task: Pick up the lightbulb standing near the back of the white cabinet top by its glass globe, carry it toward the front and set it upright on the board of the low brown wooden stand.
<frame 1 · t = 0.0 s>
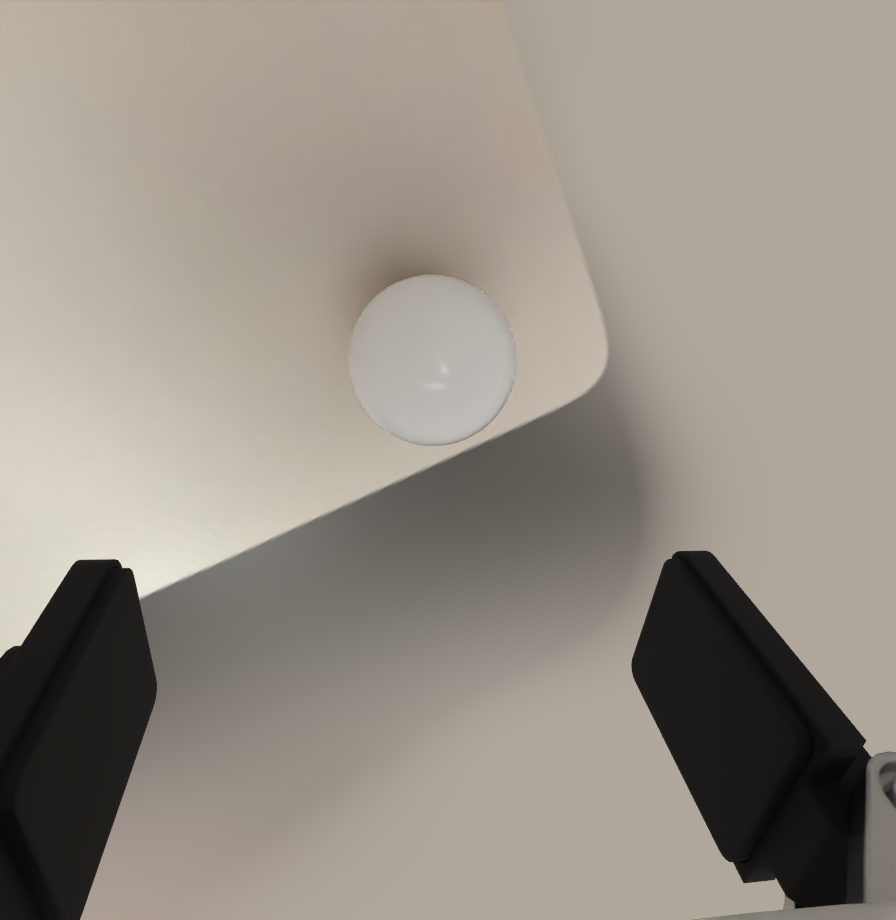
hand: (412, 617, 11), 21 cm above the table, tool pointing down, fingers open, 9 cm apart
lightbulb: (414, 305, 30), on the table
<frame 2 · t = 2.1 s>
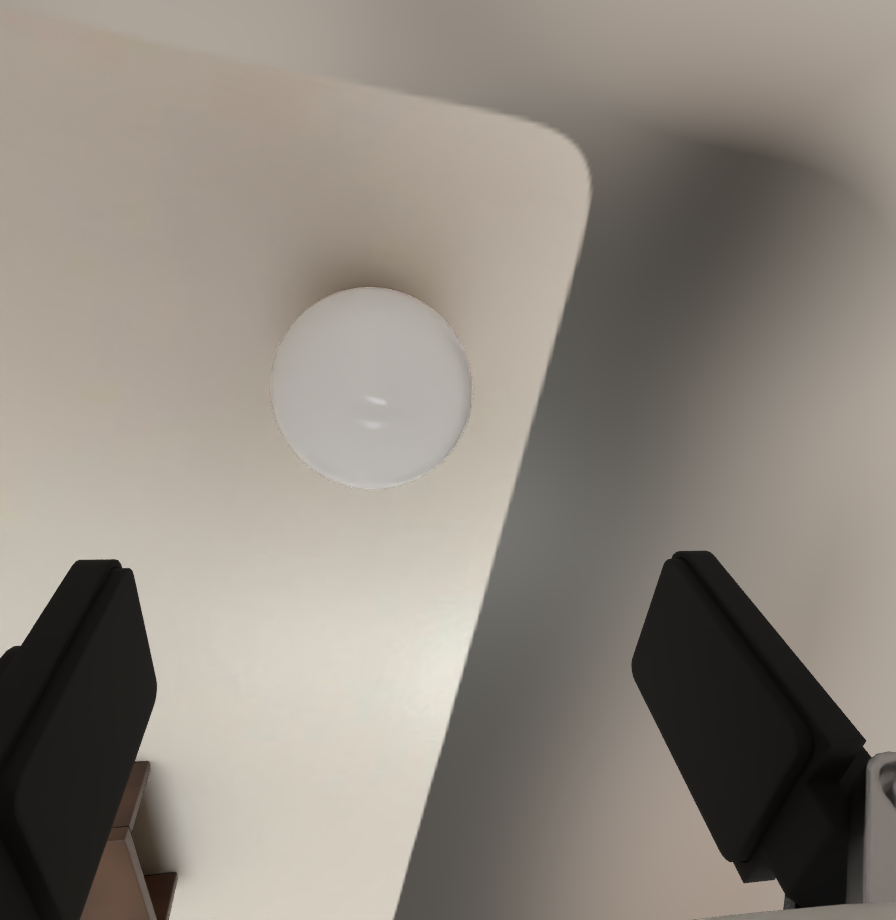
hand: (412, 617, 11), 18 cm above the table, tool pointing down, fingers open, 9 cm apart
brown wooden stand: (85, 831, 40), on the table
lightbulb: (365, 317, 26), on the table
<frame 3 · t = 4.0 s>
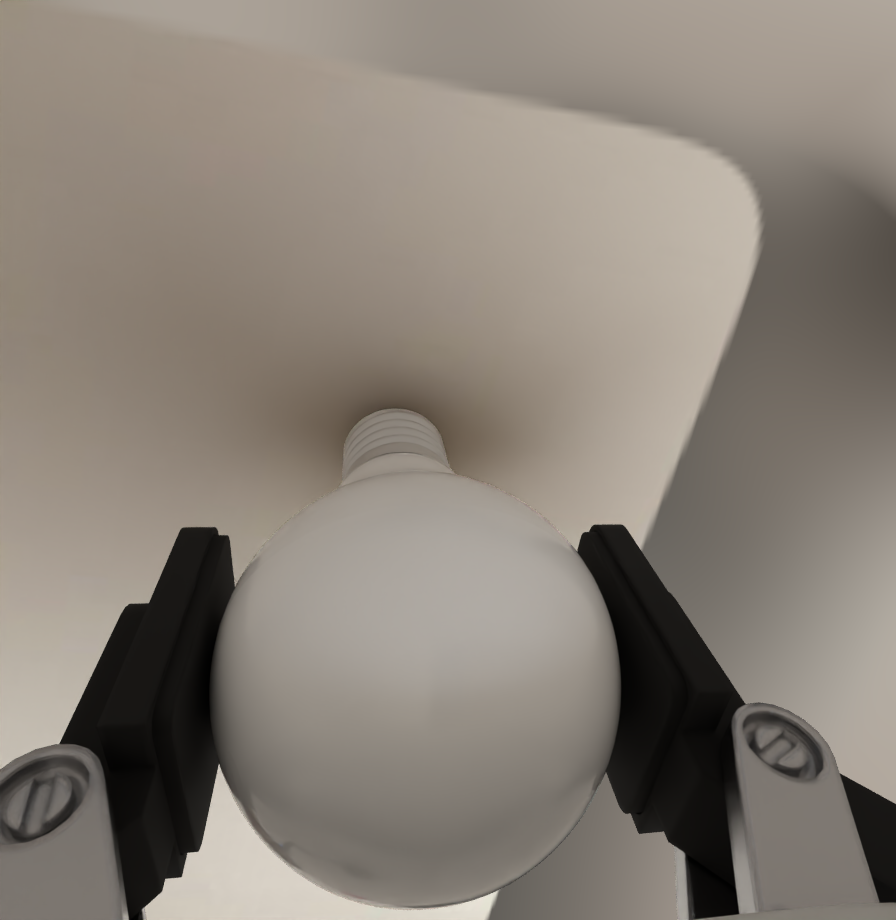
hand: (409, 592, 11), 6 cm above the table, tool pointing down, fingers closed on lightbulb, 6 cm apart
lightbulb: (392, 439, 17), on the table, touching gripper
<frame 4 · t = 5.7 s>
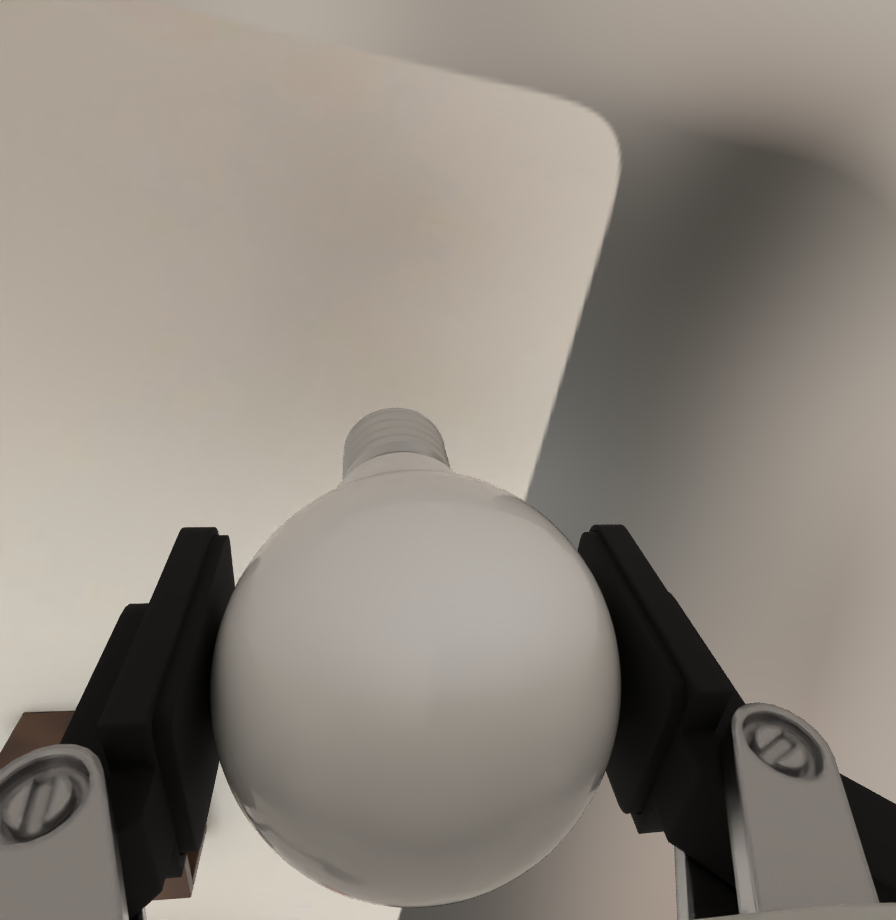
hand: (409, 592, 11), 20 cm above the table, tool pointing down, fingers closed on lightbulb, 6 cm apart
brown wooden stand: (123, 776, 42), on the table
lightbulb: (392, 438, 17), point 14 cm above the table, touching gripper
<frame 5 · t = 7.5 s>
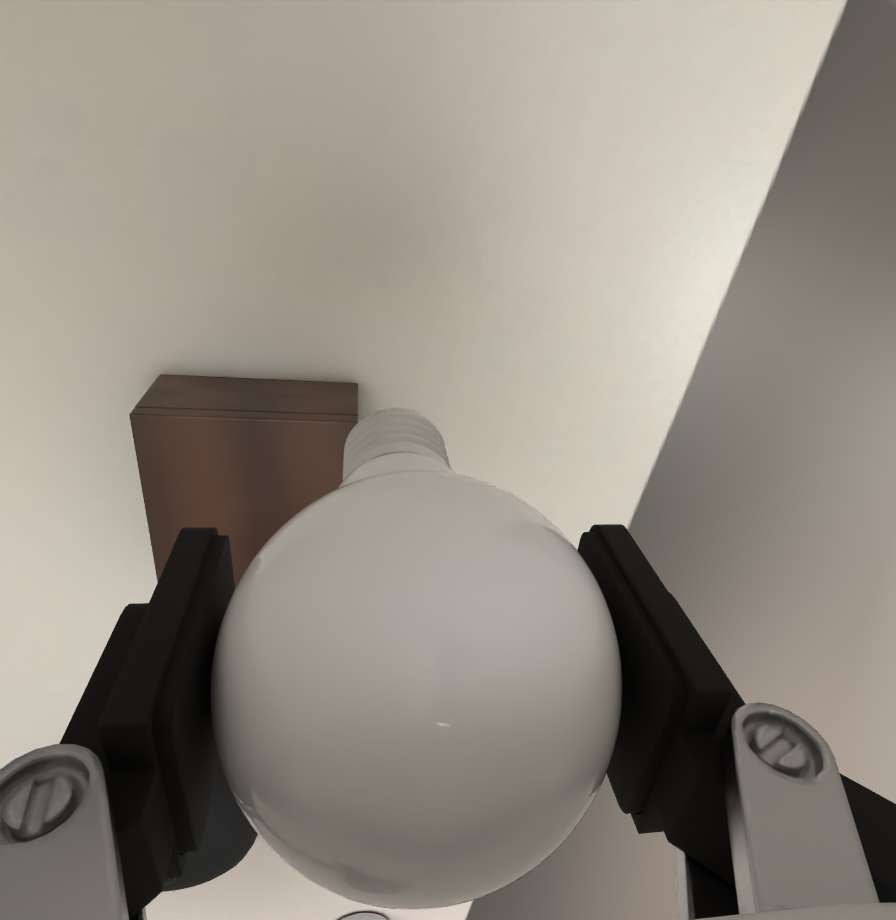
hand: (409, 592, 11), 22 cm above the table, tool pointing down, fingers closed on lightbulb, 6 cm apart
desk lamp: (178, 798, 47), on the table
brown wooden stand: (267, 492, 35), on the table
lightbulb: (392, 438, 17), point 15 cm above the table, touching gripper
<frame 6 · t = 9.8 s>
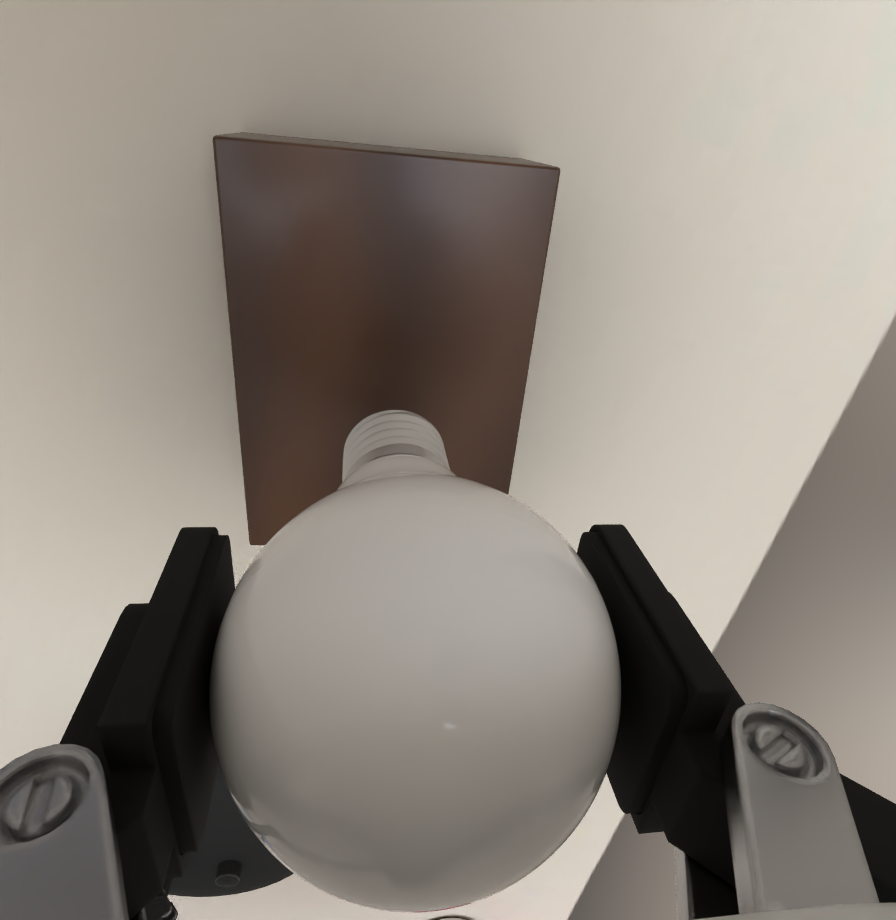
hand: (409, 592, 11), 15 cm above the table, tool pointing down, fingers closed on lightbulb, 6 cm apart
desk lamp: (237, 778, 37), on the table
brown wooden stand: (380, 337, 25), on the table
lightbulb: (392, 440, 17), point 9 cm above the table, touching gripper
when the fingers open (11 cm above the table, at t = 11.4 s): lightbulb stays where it is, resting on brown wooden stand.
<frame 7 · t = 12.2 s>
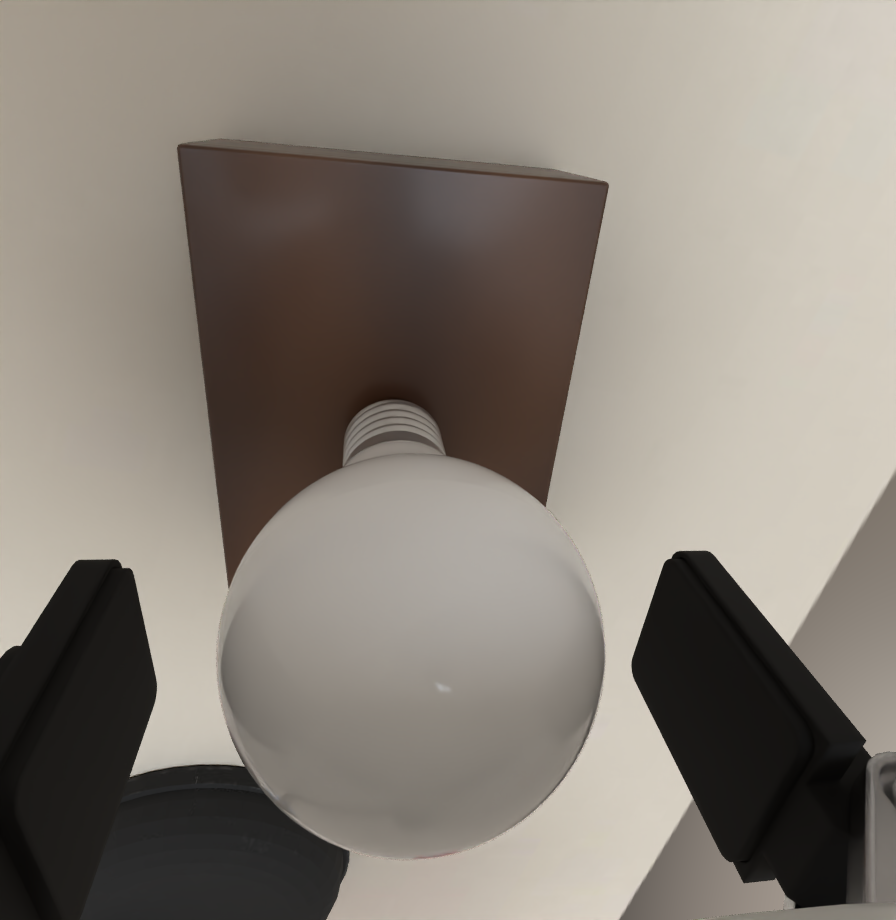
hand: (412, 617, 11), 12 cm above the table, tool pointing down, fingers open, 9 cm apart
desk lamp: (226, 847, 34), on the table
brown wooden stand: (385, 374, 21), on the table
lightbulb: (391, 430, 17), point 5 cm above the table, touching brown wooden stand
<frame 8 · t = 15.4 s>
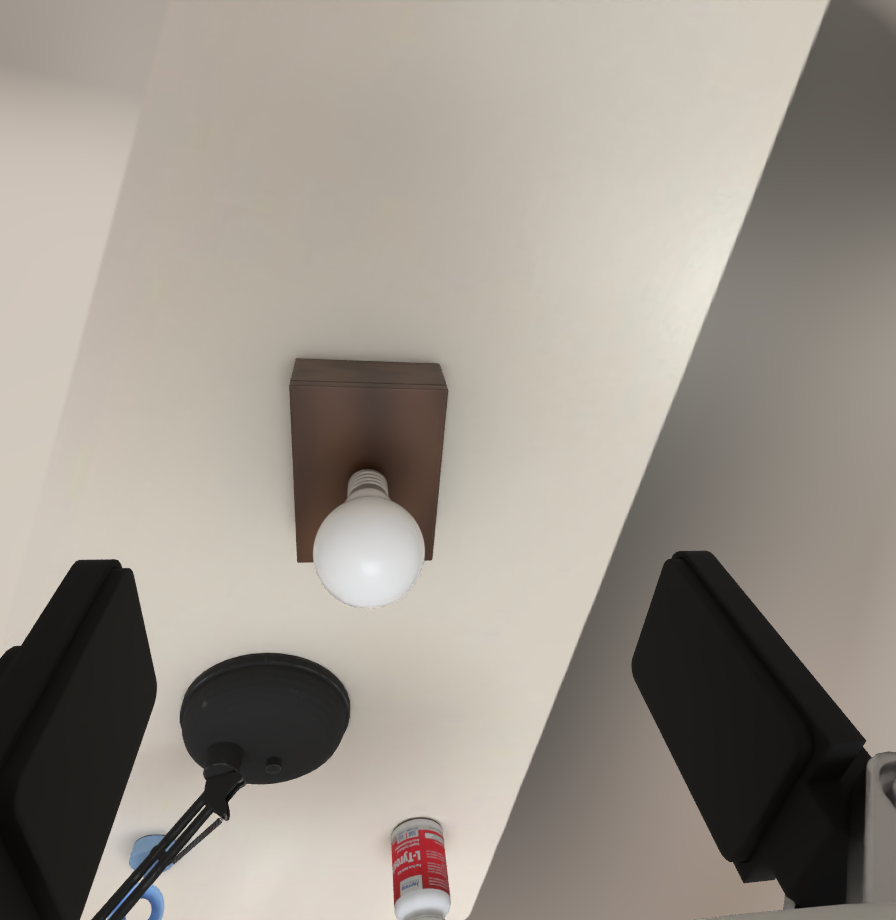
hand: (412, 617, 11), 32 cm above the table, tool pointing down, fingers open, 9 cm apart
spotlight: (156, 842, 66), on the table
desk lamp: (277, 708, 58), on the table
brown wooden stand: (366, 448, 45), on the table
lightbulb: (367, 479, 41), point 5 cm above the table, touching brown wooden stand
pill bottle: (416, 829, 72), on the table
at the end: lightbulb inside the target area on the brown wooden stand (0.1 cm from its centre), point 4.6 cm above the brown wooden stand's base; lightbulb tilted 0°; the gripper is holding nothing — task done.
